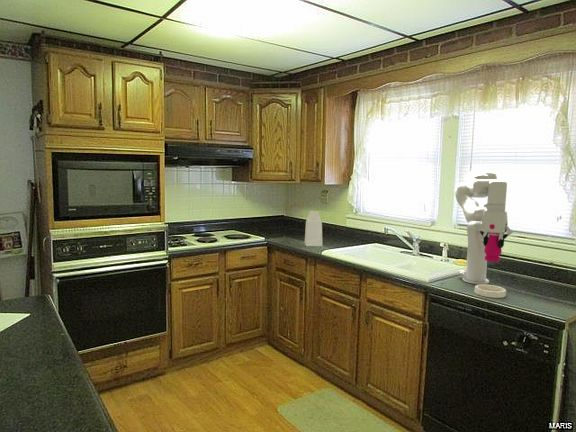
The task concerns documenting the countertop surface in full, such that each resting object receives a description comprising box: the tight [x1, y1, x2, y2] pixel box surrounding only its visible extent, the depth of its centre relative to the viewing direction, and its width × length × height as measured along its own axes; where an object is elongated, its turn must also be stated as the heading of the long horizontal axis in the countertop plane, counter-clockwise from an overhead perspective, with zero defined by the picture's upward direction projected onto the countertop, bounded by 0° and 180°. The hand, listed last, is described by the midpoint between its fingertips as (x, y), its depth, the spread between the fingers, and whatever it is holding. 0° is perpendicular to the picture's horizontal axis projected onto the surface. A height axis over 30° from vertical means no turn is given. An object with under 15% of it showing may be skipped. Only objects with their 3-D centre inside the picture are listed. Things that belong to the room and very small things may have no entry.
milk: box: [304, 210, 323, 247], centre depth 302 cm, size 12×12×26 cm
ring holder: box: [473, 284, 507, 299], centre depth 193 cm, size 13×13×3 cm
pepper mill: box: [484, 224, 503, 263], centre depth 190 cm, size 7×7×20 cm
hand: (493, 246), depth 190 cm, fingers closed on pepper mill, 5 cm apart
